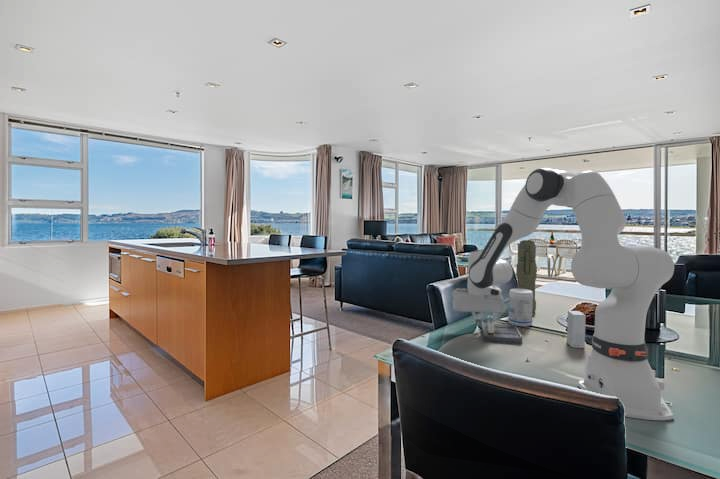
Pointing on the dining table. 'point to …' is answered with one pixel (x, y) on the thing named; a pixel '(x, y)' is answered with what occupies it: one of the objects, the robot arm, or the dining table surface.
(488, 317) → the fader slate
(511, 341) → the grey tray
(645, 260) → the robot arm
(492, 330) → the fader ivory
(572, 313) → the skincare box
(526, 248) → the green cactus
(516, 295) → the supplement tub
